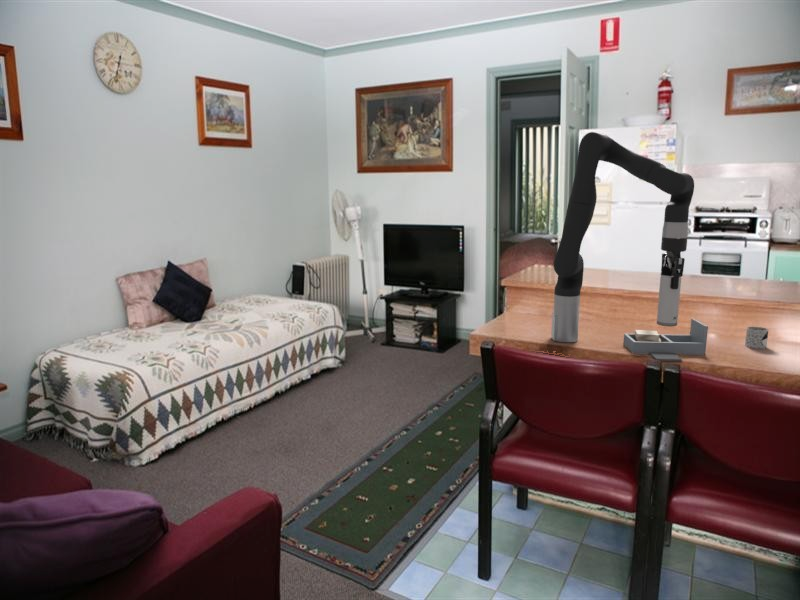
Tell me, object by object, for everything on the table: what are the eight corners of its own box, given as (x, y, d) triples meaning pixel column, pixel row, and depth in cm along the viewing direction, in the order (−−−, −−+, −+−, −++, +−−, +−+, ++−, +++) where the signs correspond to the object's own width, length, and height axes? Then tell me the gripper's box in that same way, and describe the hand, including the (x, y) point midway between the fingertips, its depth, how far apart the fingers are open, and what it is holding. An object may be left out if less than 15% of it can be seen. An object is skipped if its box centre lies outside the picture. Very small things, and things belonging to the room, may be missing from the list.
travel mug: (680, 327, 197) (685, 266, 194) (658, 326, 199) (663, 265, 195) (675, 322, 203) (680, 263, 200) (654, 322, 205) (659, 263, 201)
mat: (656, 361, 200) (656, 358, 199) (648, 354, 207) (648, 352, 207) (681, 361, 199) (681, 359, 199) (672, 354, 207) (673, 352, 207)
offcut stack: (635, 350, 213) (636, 334, 212) (633, 345, 219) (634, 329, 218) (660, 352, 211) (661, 335, 209) (657, 347, 217) (659, 331, 216)
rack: (632, 353, 209) (634, 325, 207) (623, 344, 221) (625, 317, 219) (705, 354, 207) (708, 326, 205) (691, 345, 219) (694, 318, 217)
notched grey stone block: (766, 350, 213) (768, 331, 211) (744, 347, 216) (746, 329, 215) (766, 343, 221) (768, 326, 220) (745, 341, 224) (747, 323, 223)
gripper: (655, 234, 203) (651, 283, 206) (670, 238, 189) (666, 290, 192) (678, 234, 202) (674, 283, 205) (695, 238, 188) (690, 291, 191)
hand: (670, 287), depth 199 cm, fingers closed on travel mug, 6 cm apart
